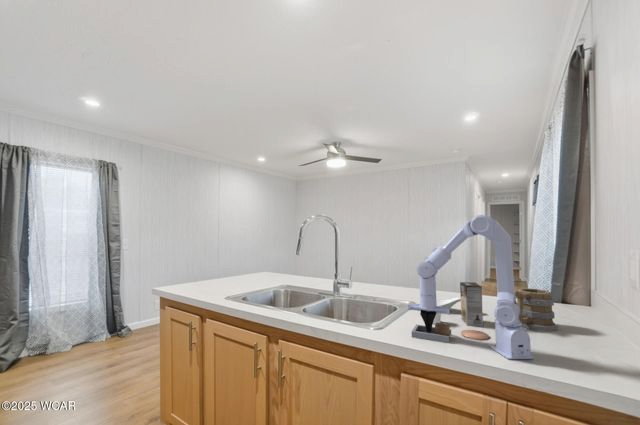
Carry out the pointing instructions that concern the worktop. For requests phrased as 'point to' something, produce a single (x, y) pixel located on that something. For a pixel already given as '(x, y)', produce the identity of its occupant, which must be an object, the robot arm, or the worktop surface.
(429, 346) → the worktop surface
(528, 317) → the tankard
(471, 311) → the coffee box
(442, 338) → the grey shallow rectangular tray
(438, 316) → the white cylinder
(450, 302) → the spoon rest
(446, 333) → the block
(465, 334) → the peach dome
